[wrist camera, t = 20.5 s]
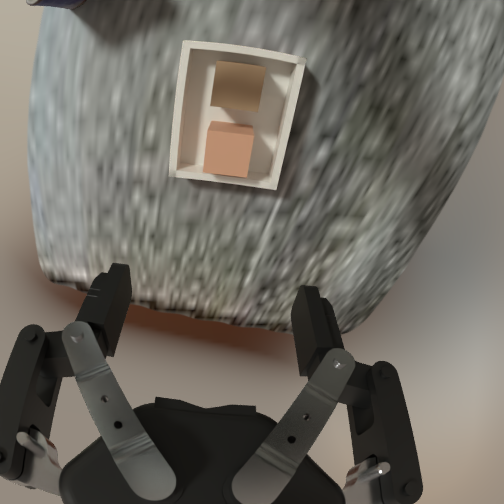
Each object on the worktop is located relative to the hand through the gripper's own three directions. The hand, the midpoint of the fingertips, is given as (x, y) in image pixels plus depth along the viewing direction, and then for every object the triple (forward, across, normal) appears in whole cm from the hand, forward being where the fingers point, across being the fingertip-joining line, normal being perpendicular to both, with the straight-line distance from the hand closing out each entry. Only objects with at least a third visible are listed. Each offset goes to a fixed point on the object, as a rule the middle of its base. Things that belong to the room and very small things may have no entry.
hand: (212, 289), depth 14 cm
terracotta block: (+23, 0, 0) cm, 23 cm away
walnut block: (+23, 0, -7) cm, 24 cm away
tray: (+24, 0, -4) cm, 24 cm away
